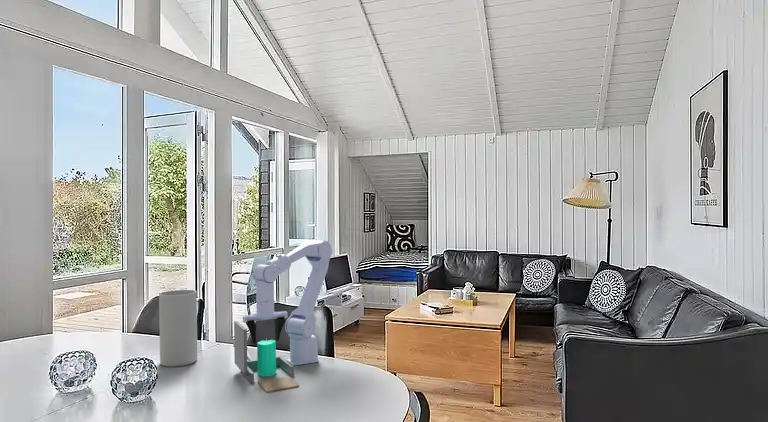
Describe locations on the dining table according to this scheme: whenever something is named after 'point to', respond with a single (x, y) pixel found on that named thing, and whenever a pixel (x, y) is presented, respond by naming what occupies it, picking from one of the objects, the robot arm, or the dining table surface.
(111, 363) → the dining table surface
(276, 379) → the tan pad
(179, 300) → the cylinder vase
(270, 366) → the candle
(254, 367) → the grey bracket
